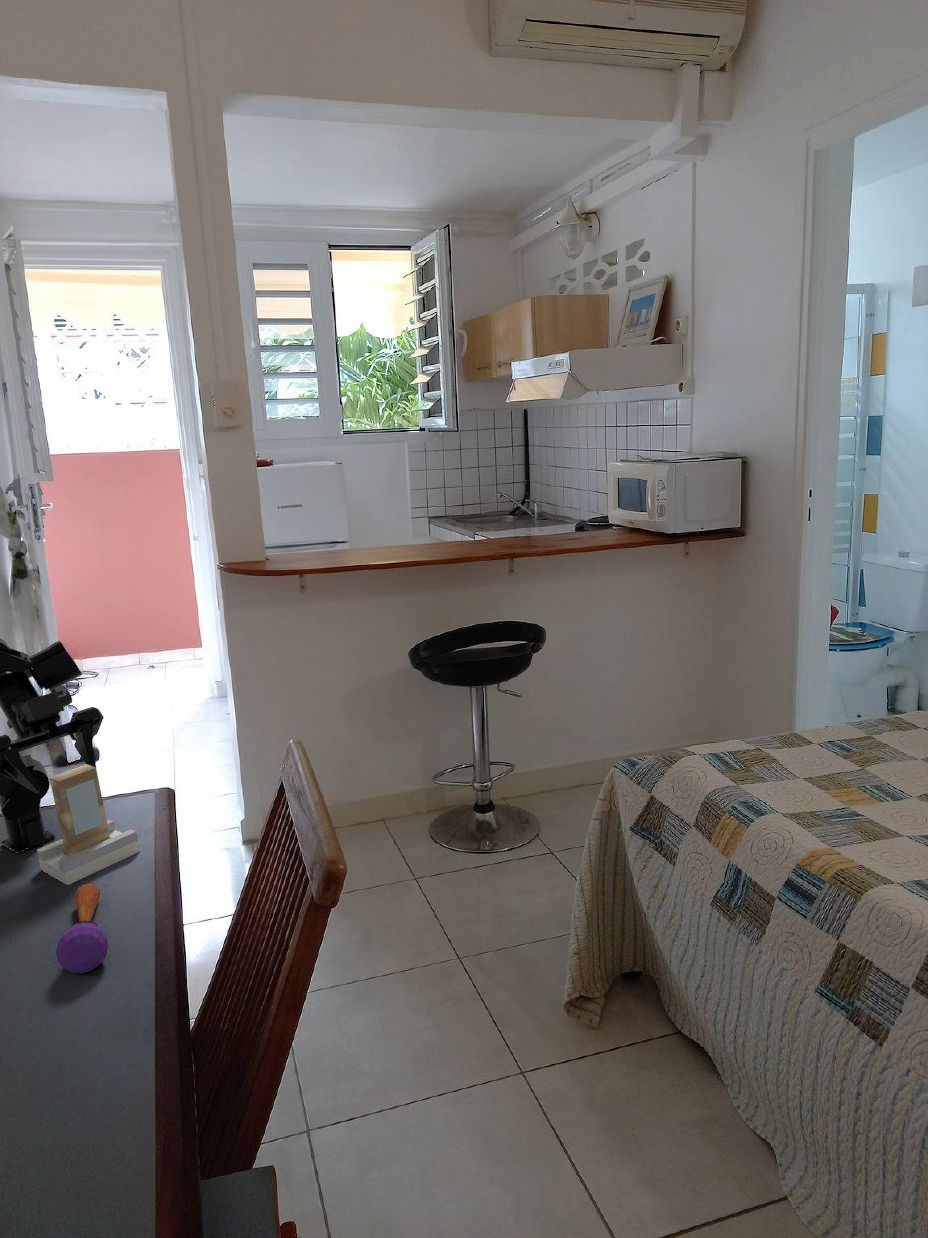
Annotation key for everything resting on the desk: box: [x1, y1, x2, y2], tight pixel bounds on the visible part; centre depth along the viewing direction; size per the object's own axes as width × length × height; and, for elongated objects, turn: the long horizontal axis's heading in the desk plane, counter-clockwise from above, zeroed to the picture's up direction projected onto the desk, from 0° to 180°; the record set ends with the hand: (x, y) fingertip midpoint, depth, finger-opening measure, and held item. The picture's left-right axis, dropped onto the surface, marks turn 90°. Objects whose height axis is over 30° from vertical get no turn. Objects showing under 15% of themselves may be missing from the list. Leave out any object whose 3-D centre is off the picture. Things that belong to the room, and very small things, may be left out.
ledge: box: [36, 818, 141, 886], centre depth 138 cm, size 9×12×4 cm
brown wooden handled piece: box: [55, 883, 109, 974], centre depth 116 cm, size 6×6×20 cm
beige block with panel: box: [49, 763, 111, 856], centre depth 136 cm, size 4×6×13 cm, turn 140°
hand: (66, 780), depth 137 cm, fingers open, 9 cm apart
